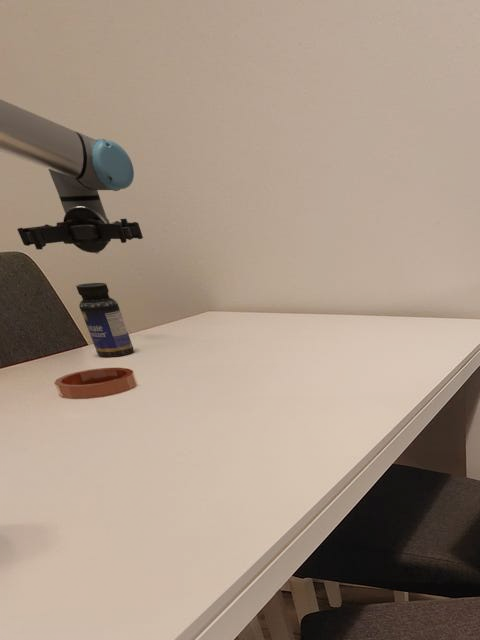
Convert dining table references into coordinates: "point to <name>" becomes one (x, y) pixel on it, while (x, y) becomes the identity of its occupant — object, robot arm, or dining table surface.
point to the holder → (96, 383)
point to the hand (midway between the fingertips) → (78, 236)
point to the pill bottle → (104, 320)
